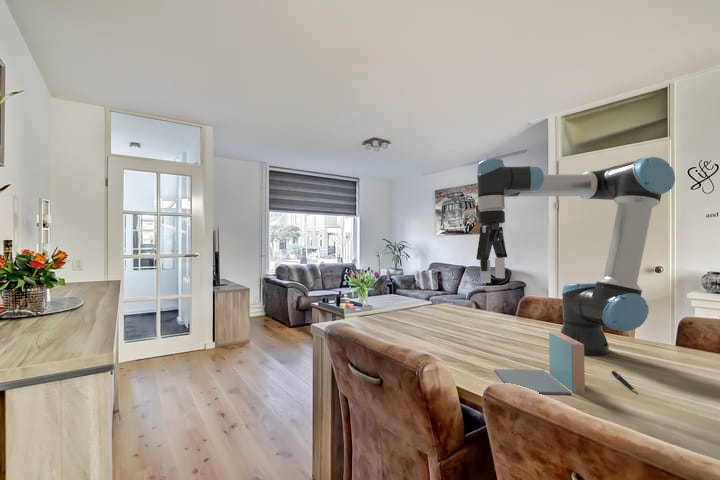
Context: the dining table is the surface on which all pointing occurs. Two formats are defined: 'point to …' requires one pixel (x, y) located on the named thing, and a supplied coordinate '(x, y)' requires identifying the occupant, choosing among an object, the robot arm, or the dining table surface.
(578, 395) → the dining table surface
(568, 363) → the glazed tile
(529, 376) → the mat
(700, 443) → the dining table surface
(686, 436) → the dining table surface
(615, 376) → the fountain pen
